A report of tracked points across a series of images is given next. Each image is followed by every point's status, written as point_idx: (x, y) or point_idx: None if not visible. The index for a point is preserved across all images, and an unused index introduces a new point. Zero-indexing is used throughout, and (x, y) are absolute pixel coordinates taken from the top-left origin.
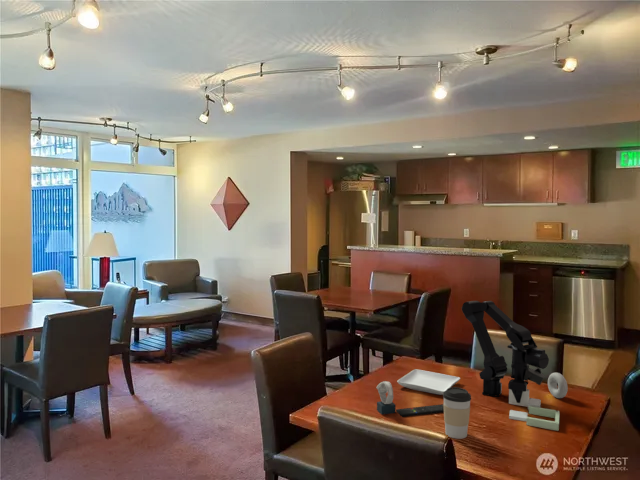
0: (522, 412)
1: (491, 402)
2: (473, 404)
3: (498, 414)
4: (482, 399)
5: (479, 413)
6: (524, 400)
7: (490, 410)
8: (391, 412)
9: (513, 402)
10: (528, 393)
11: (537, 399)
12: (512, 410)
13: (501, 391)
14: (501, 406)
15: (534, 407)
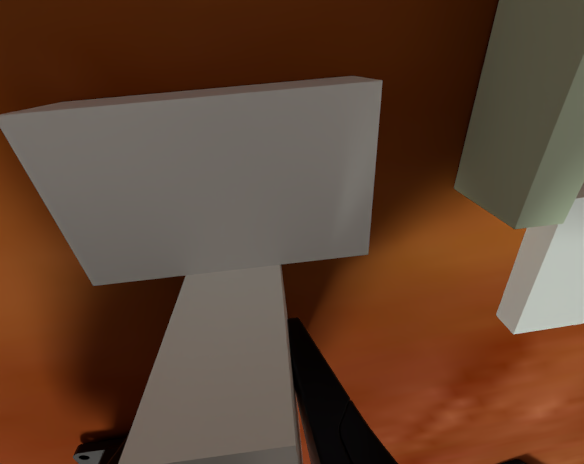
0: (568, 244)
1: None
2: (412, 454)
3: (549, 354)
4: (307, 454)
5: (545, 412)
6: (285, 310)
7: (484, 394)
8: None
9: None
10: (287, 389)
11: (53, 173)
12: (526, 318)
13: (107, 458)
14: (382, 375)
15: (582, 148)
